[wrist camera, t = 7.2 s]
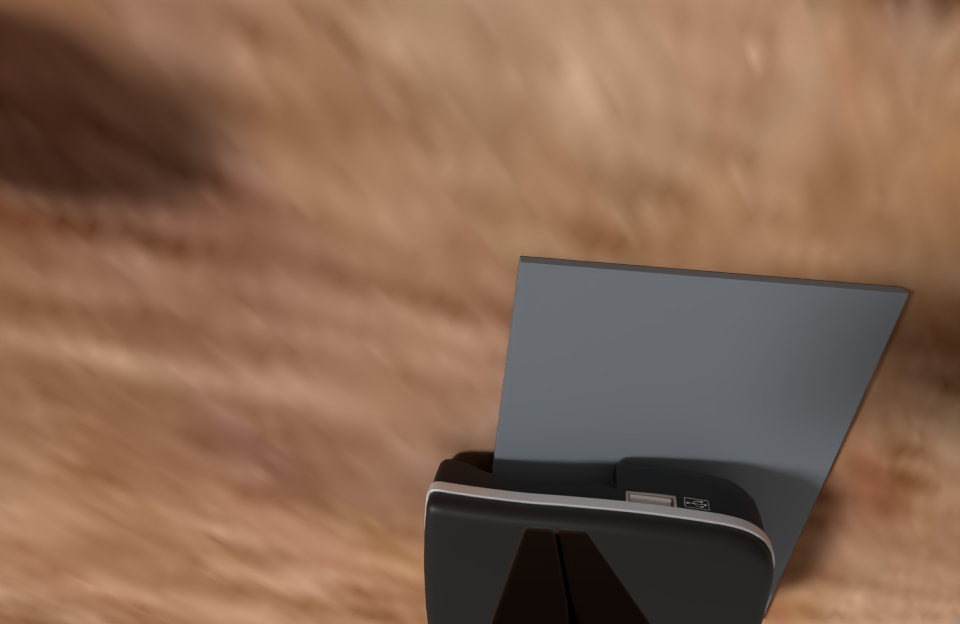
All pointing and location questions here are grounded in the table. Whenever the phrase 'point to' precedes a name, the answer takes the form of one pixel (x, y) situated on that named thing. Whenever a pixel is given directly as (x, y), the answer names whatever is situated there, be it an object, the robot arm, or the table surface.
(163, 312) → the table surface
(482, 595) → the battery charger
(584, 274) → the gray mat
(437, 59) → the table surface
